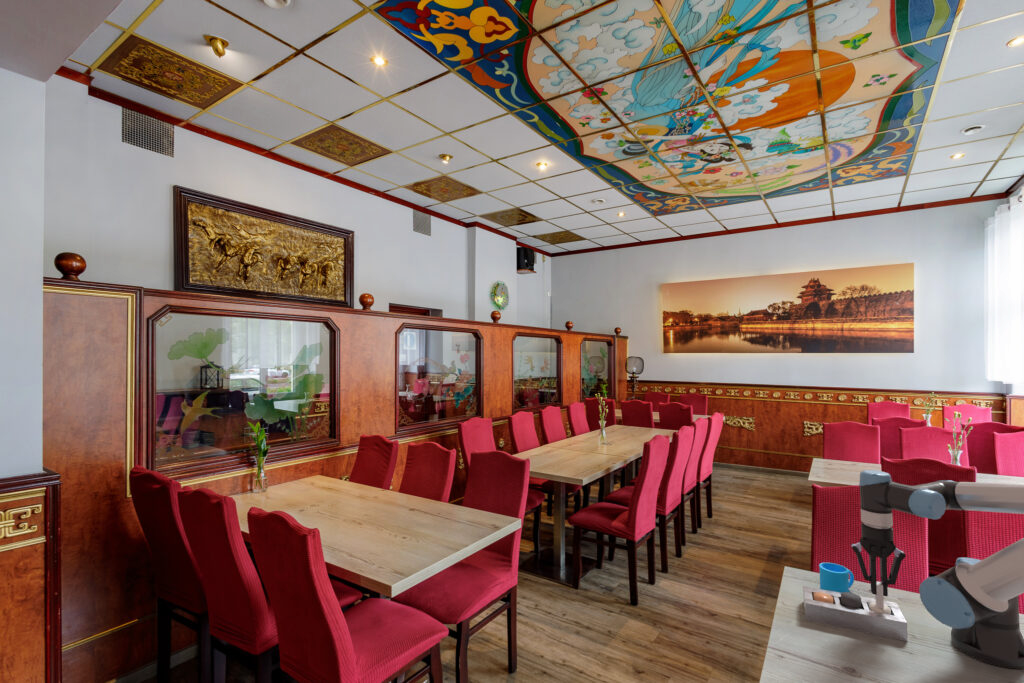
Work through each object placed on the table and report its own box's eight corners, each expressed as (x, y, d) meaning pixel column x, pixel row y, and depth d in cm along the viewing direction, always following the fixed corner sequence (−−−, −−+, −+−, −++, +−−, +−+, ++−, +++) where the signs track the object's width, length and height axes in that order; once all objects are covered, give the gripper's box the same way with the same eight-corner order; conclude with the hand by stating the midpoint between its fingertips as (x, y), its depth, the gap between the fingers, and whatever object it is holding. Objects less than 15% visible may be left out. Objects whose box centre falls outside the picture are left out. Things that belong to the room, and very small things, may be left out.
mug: (835, 599, 155) (834, 574, 156) (814, 588, 163) (813, 563, 164) (865, 595, 158) (864, 570, 158) (842, 584, 166) (842, 560, 166)
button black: (860, 607, 145) (859, 594, 145) (862, 615, 140) (862, 601, 140) (840, 604, 147) (839, 590, 147) (842, 611, 142) (841, 598, 143)
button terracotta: (832, 607, 148) (832, 594, 148) (834, 615, 143) (834, 601, 144) (813, 603, 150) (813, 590, 150) (814, 611, 146) (814, 598, 146)
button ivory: (889, 618, 141) (888, 604, 141) (893, 627, 137) (892, 612, 137) (868, 614, 144) (867, 600, 144) (871, 622, 139) (871, 608, 139)
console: (897, 619, 143) (896, 602, 143) (907, 641, 132) (906, 622, 133) (803, 601, 154) (803, 586, 154) (806, 620, 144) (805, 603, 144)
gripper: (901, 523, 141) (904, 605, 141) (848, 517, 147) (850, 595, 147) (908, 532, 135) (911, 617, 134) (851, 525, 141) (854, 606, 140)
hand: (879, 605), depth 140 cm, fingers closed
